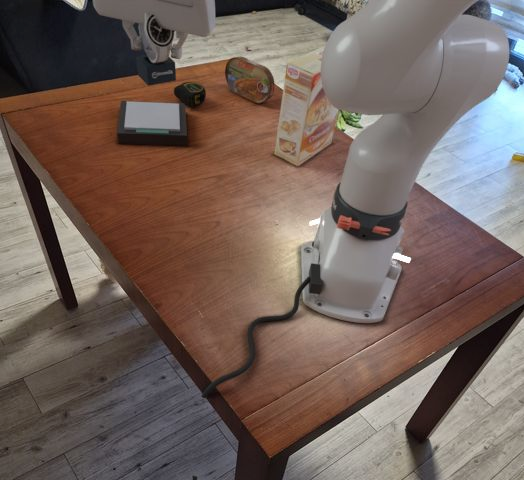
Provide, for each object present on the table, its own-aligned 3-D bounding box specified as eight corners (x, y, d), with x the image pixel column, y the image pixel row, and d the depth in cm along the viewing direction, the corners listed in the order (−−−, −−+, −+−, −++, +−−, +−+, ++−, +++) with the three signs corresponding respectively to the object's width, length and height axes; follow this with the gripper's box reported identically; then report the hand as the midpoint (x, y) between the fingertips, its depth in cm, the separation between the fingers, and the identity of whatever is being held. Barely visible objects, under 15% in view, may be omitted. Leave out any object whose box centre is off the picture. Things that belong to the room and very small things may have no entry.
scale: (187, 145, 106) (186, 132, 103) (118, 143, 103) (116, 130, 101) (185, 113, 115) (185, 100, 112) (122, 110, 112) (120, 97, 110)
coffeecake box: (298, 167, 105) (314, 74, 90) (272, 154, 107) (284, 61, 92) (332, 143, 113) (353, 54, 98) (308, 132, 115) (325, 43, 100)
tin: (223, 87, 126) (224, 52, 119) (231, 84, 127) (233, 49, 121) (266, 109, 121) (270, 74, 114) (274, 105, 122) (278, 70, 116)
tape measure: (172, 99, 118) (172, 83, 116) (195, 93, 122) (195, 78, 119) (188, 111, 116) (188, 95, 113) (210, 105, 119) (211, 89, 116)
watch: (153, 90, 83) (146, 19, 74) (134, 71, 87) (125, 0, 78) (181, 85, 85) (178, 15, 77) (161, 66, 89) (156, -3, 80)
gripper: (76, -54, 70) (93, 48, 81) (208, -27, 70) (207, 72, 81) (94, -64, 74) (108, 35, 85) (219, -39, 73) (216, 58, 84)
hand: (157, 53), depth 83 cm, fingers closed on watch, 6 cm apart
